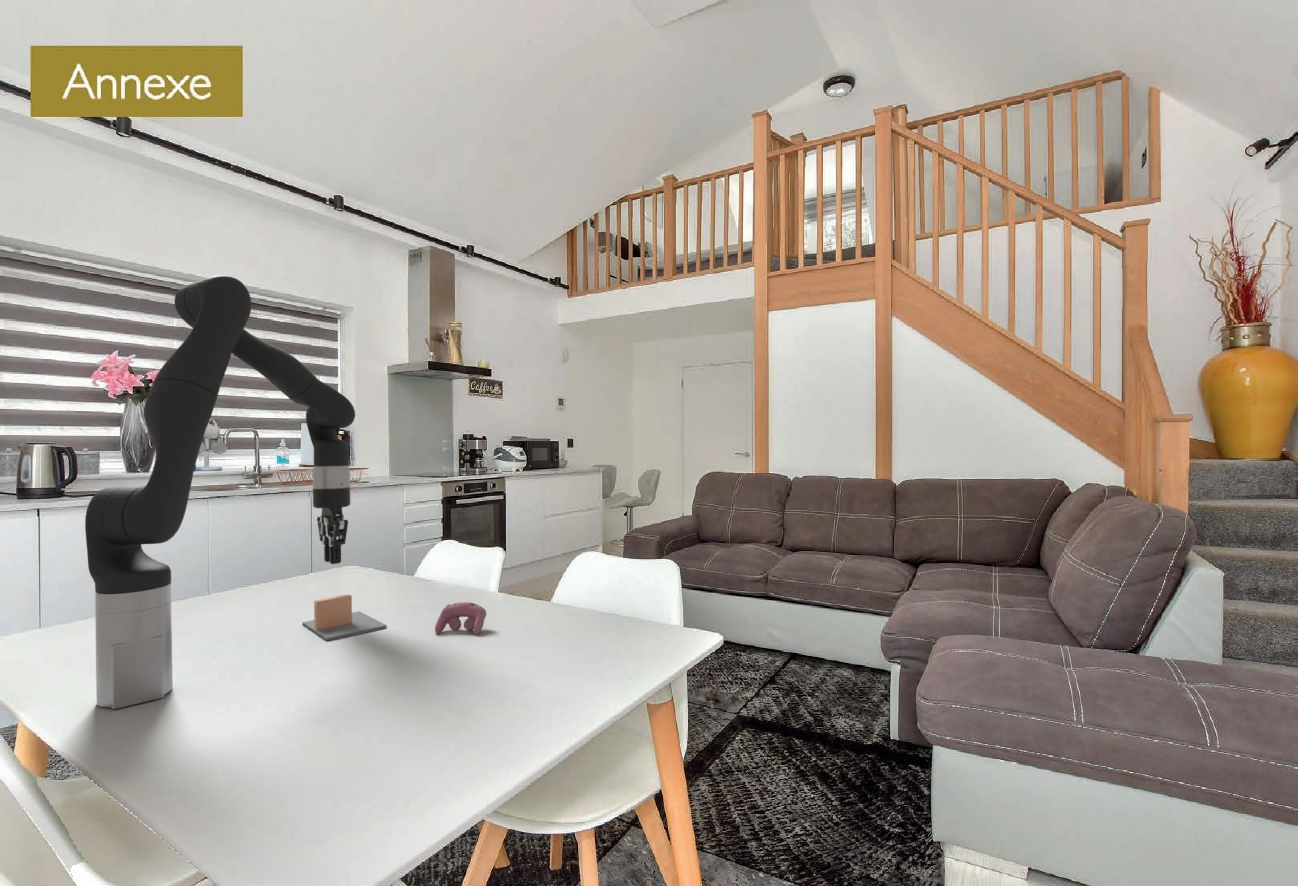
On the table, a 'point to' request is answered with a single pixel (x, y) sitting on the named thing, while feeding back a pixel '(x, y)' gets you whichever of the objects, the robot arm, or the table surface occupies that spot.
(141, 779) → the table surface
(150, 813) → the table surface
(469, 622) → the video game controller
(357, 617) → the mat
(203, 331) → the robot arm
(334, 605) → the tile
